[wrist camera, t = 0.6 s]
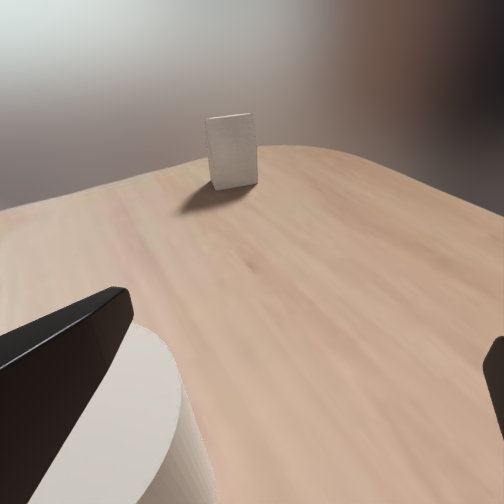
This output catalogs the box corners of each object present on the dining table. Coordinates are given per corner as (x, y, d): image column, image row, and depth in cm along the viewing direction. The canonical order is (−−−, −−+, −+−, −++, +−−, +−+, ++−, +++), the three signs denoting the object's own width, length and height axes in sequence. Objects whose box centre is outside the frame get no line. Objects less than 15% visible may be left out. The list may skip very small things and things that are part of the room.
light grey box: (257, 183, 49) (256, 116, 42) (215, 190, 47) (207, 123, 41) (250, 173, 52) (248, 109, 45) (210, 180, 50) (202, 115, 44)
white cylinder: (208, 417, 22) (178, 304, 14) (225, 581, 16) (186, 538, 8) (87, 445, 21) (-18, 338, 13) (53, 634, 15) (-183, 643, 7)
